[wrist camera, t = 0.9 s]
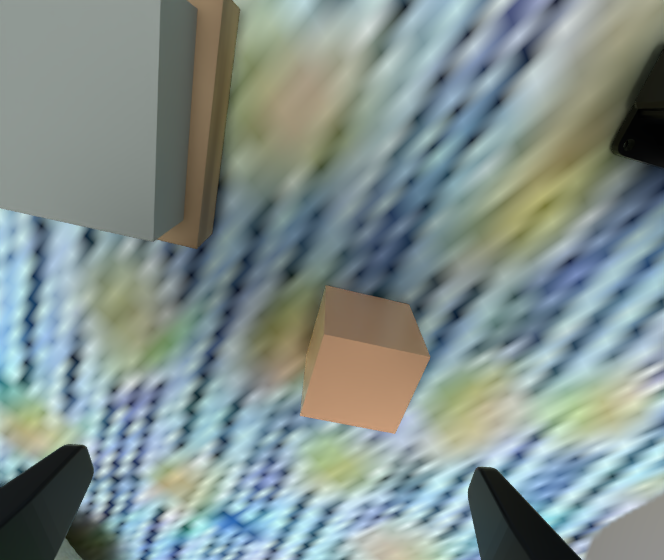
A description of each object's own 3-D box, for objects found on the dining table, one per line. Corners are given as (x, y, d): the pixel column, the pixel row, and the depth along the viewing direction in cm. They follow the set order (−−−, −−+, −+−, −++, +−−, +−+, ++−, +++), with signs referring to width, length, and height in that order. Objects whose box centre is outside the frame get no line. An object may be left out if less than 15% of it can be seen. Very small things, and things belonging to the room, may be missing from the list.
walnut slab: (243, 13, 15) (224, -9, 12) (215, 230, 19) (196, 249, 17) (-5, -65, 14) (-85, -108, 11) (21, 182, 18) (-33, 194, 15)
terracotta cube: (408, 303, 21) (430, 357, 16) (382, 370, 23) (395, 433, 18) (325, 284, 20) (323, 334, 16) (306, 353, 22) (299, 415, 18)
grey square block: (197, 8, 13) (161, -21, 10) (183, 220, 16) (153, 241, 13) (-43, -61, 12) (-154, -113, 9) (-6, 176, 15) (-79, 190, 12)
